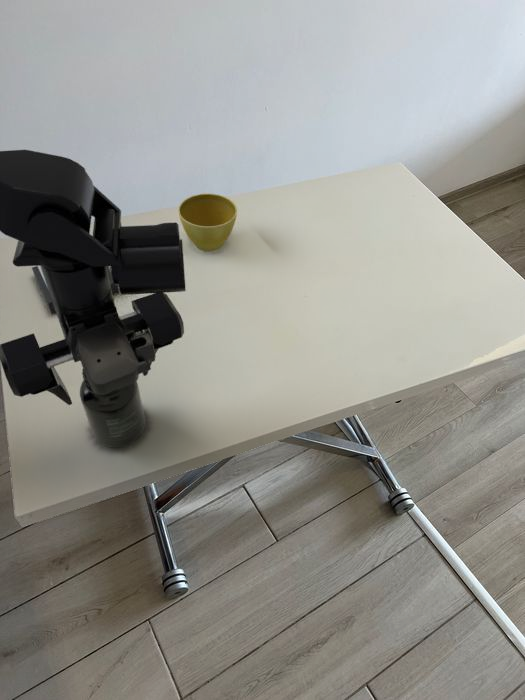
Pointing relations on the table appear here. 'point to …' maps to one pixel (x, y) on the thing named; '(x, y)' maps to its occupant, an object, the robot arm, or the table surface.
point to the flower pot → (207, 220)
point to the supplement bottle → (113, 414)
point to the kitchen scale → (45, 291)
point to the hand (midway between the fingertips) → (107, 387)
